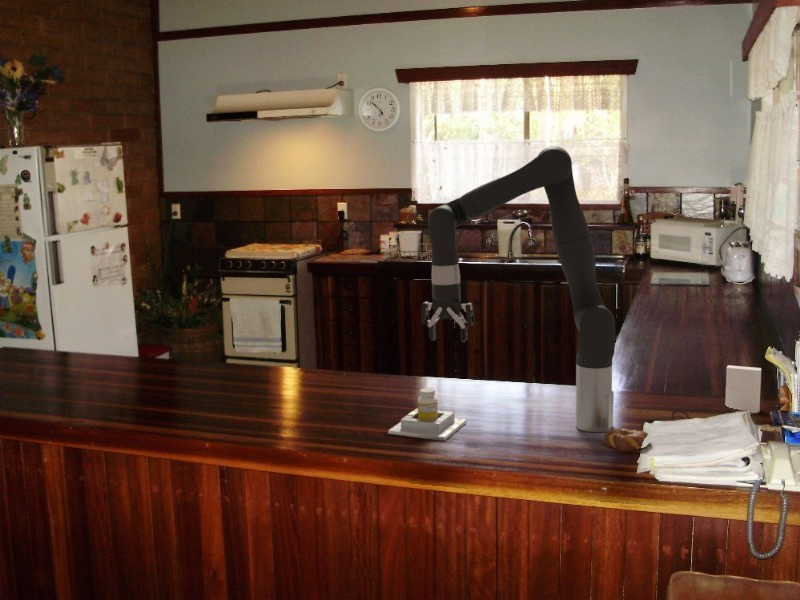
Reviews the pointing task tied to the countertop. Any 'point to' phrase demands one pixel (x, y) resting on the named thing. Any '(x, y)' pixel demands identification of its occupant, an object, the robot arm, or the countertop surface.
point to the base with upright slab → (743, 388)
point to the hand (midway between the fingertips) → (448, 340)
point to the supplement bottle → (427, 405)
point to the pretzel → (624, 439)
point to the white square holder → (428, 426)
